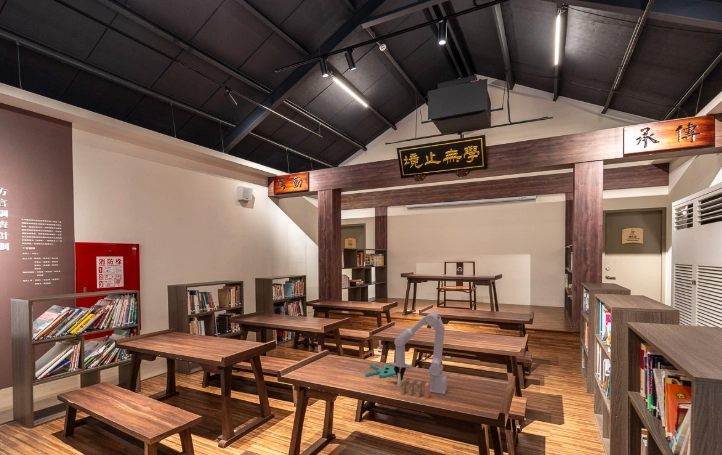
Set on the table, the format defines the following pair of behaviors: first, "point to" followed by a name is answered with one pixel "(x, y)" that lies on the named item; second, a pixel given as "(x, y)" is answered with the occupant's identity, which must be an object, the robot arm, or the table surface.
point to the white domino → (399, 378)
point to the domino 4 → (427, 390)
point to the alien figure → (382, 371)
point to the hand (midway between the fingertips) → (400, 379)
